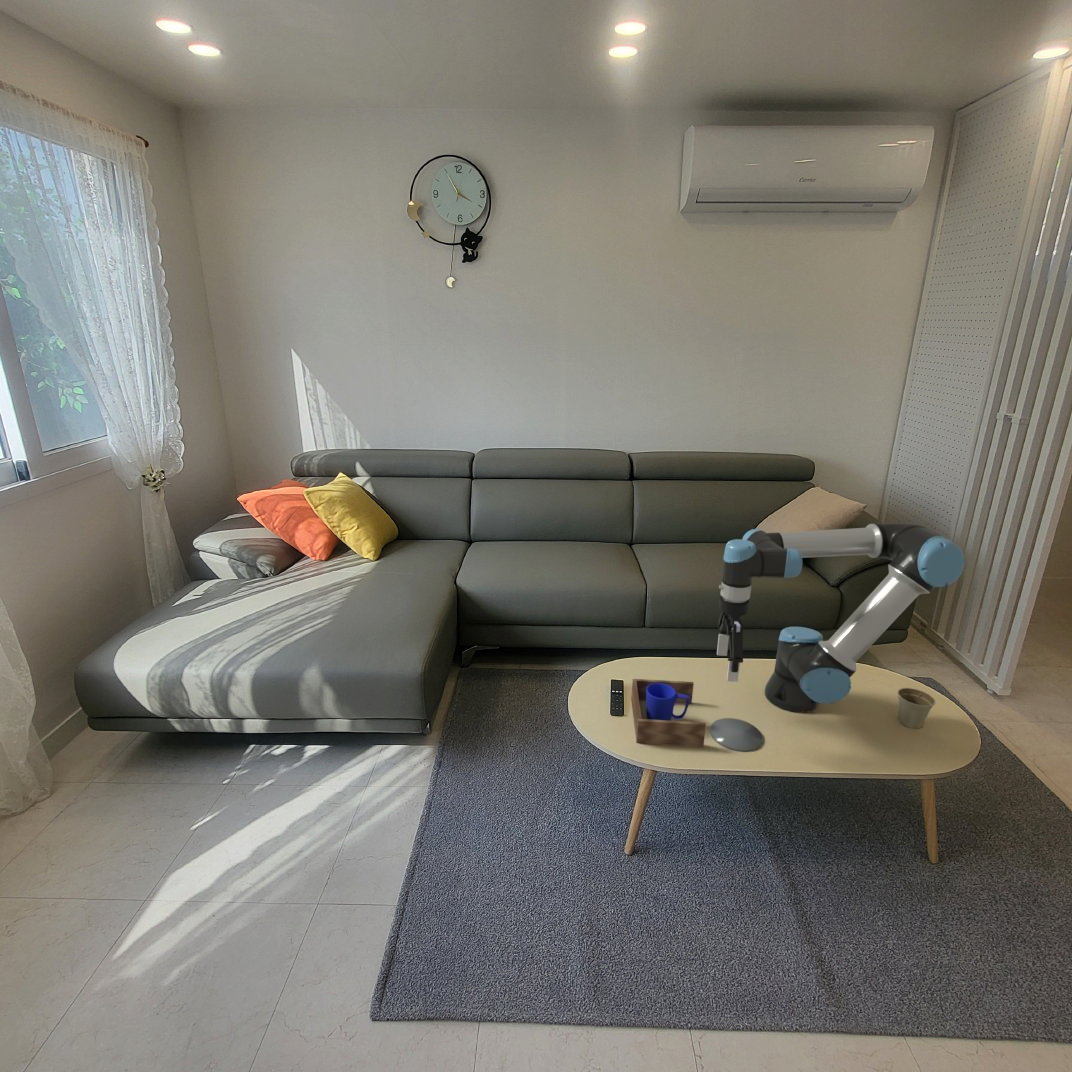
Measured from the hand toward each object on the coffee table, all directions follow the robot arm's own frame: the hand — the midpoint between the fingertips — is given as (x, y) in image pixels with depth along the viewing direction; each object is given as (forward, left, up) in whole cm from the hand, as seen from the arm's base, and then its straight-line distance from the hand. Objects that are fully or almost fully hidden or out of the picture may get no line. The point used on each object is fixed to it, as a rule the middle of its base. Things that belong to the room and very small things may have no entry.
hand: (726, 667), depth 169 cm
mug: (+15, 0, -19) cm, 24 cm away
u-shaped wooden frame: (+15, 0, -19) cm, 24 cm away
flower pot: (-56, -6, -19) cm, 59 cm away
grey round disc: (-4, +5, -19) cm, 19 cm away
